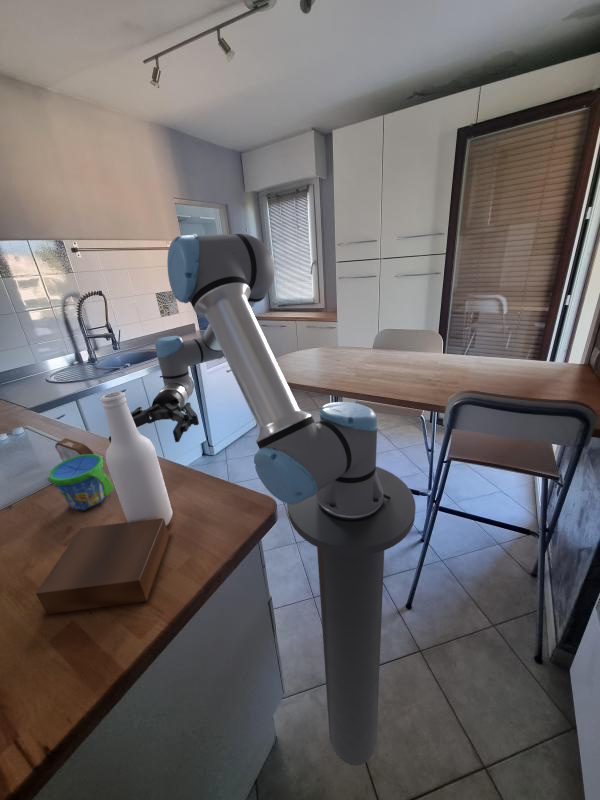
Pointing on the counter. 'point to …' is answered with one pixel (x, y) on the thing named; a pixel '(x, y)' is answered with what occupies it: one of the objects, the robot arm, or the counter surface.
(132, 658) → the counter surface
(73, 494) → the snack cup
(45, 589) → the stand
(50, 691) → the counter surface
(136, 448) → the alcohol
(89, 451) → the tin
